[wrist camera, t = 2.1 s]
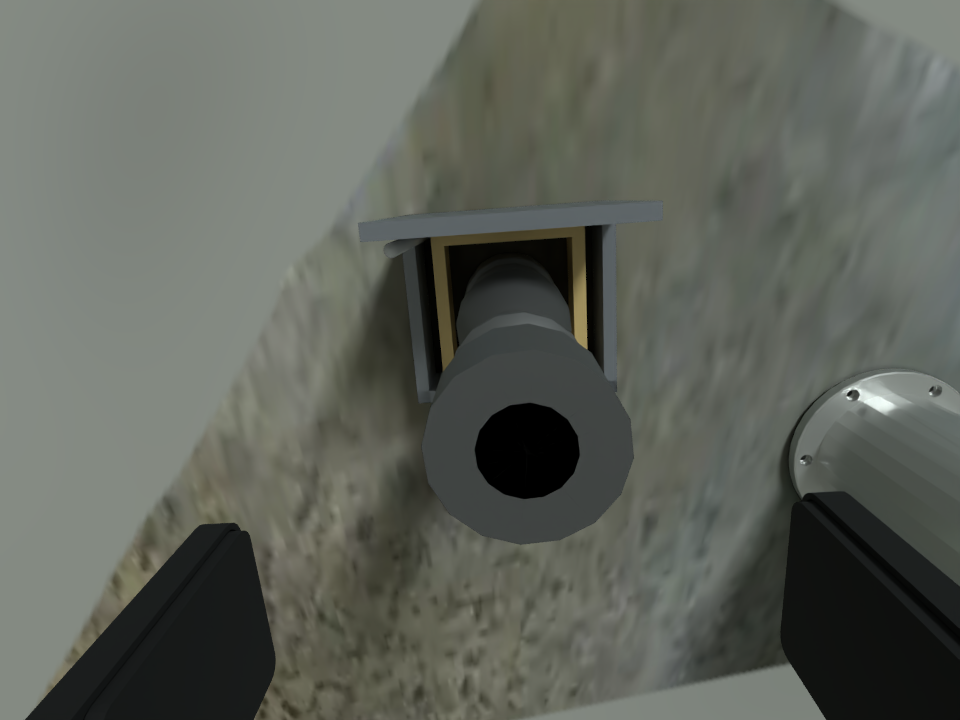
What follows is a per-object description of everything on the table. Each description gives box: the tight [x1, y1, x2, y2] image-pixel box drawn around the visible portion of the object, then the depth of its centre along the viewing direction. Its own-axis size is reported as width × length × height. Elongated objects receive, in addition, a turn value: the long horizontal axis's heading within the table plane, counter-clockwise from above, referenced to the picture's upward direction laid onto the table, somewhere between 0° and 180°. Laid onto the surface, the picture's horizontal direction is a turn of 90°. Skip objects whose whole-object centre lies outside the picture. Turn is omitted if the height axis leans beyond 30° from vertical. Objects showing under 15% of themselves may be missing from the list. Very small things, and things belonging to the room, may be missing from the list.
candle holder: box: [421, 252, 634, 545], centre depth 27 cm, size 6×6×25 cm
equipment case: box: [358, 201, 663, 403], centre depth 32 cm, size 13×12×14 cm
